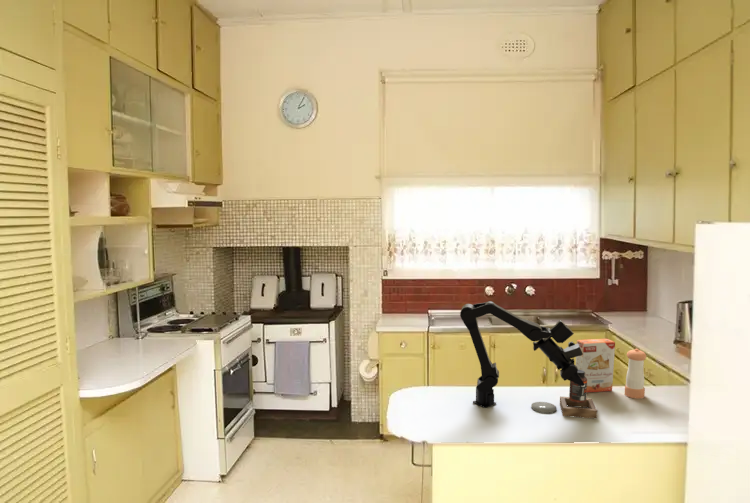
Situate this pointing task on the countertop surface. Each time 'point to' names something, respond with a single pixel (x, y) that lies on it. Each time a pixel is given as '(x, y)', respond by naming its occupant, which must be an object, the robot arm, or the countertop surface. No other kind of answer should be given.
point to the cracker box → (597, 363)
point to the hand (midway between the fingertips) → (582, 382)
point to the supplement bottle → (578, 389)
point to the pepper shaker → (635, 374)
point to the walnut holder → (578, 412)
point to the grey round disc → (543, 407)
